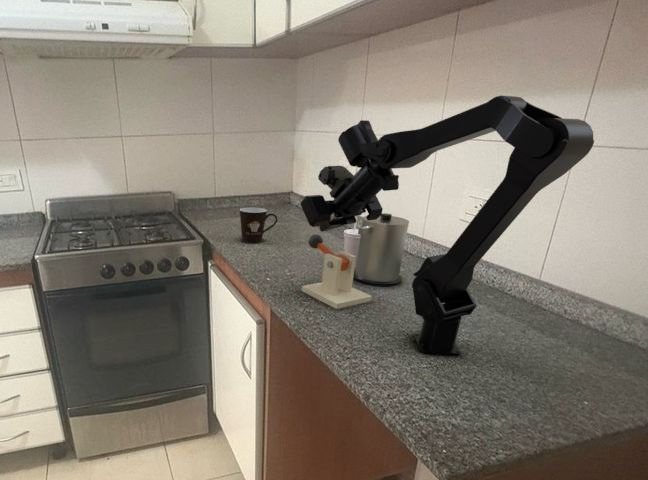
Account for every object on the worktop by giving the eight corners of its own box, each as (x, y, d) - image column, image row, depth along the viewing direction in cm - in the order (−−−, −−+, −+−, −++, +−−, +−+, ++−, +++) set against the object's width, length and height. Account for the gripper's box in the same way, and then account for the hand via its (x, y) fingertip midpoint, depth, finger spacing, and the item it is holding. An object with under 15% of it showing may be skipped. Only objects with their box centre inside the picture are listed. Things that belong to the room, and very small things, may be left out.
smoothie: (334, 264, 122) (340, 213, 116) (354, 262, 124) (361, 212, 118) (348, 271, 116) (355, 218, 111) (368, 269, 119) (376, 217, 113)
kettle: (372, 293, 102) (383, 222, 95) (335, 278, 111) (343, 212, 105) (416, 281, 110) (430, 215, 103) (379, 268, 119) (389, 207, 112)
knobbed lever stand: (301, 292, 102) (304, 250, 98) (334, 285, 106) (339, 245, 102) (336, 310, 92) (342, 265, 88) (371, 302, 97) (378, 259, 93)
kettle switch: (304, 244, 103) (308, 232, 101) (315, 243, 104) (319, 231, 102) (335, 273, 95) (340, 261, 93) (346, 271, 97) (351, 259, 95)
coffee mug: (235, 242, 142) (236, 211, 138) (243, 236, 149) (244, 206, 145) (270, 246, 138) (272, 214, 134) (276, 240, 146) (278, 209, 142)
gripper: (381, 152, 92) (338, 197, 106) (310, 153, 84) (274, 202, 97) (404, 196, 89) (357, 237, 103) (333, 202, 81) (292, 246, 94)
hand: (321, 229), depth 99 cm, fingers closed
